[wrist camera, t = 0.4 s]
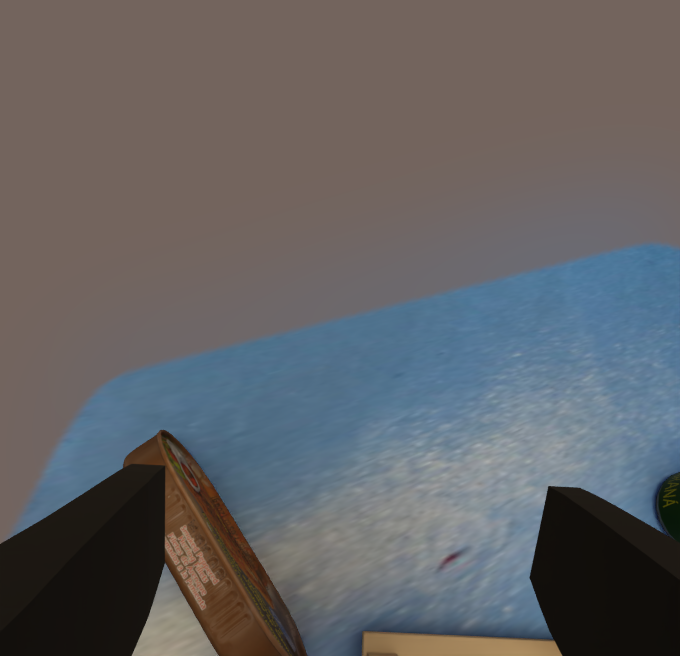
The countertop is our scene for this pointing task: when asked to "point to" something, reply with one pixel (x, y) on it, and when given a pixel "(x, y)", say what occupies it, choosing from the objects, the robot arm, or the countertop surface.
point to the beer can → (670, 506)
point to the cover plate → (452, 645)
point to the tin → (216, 561)
